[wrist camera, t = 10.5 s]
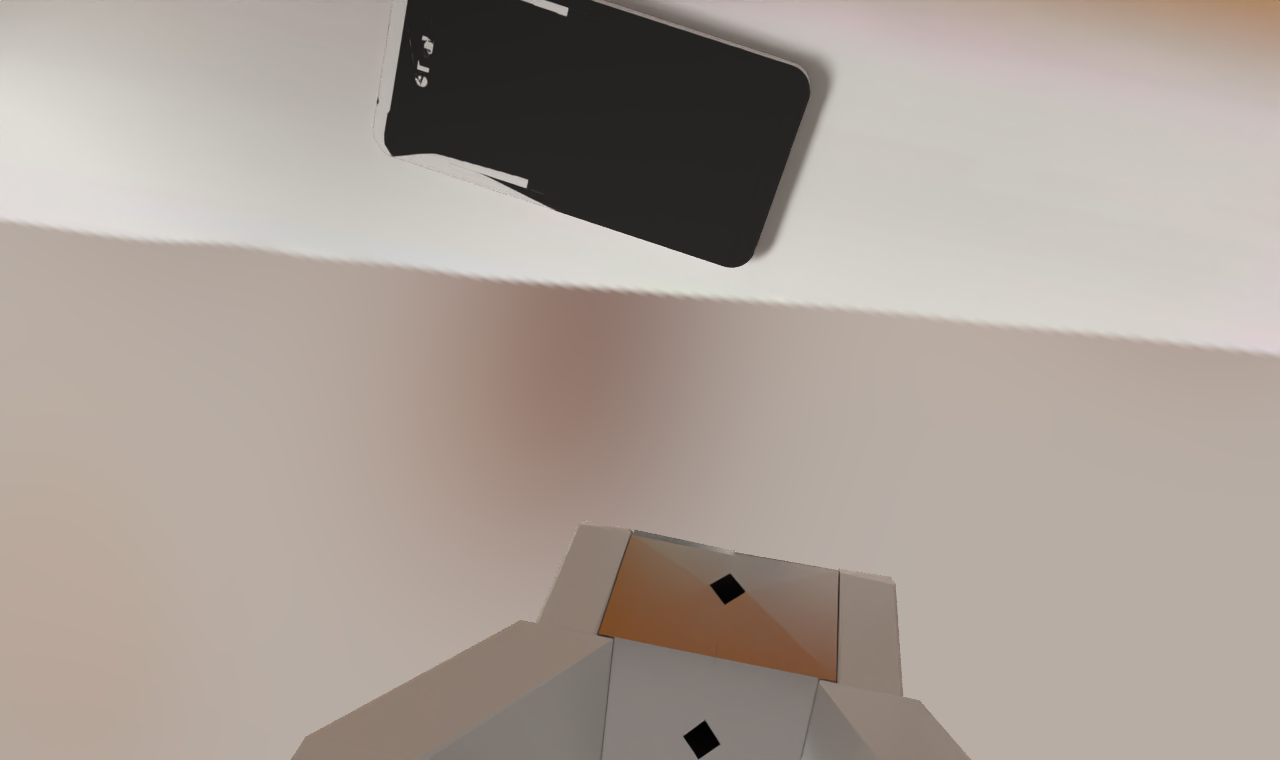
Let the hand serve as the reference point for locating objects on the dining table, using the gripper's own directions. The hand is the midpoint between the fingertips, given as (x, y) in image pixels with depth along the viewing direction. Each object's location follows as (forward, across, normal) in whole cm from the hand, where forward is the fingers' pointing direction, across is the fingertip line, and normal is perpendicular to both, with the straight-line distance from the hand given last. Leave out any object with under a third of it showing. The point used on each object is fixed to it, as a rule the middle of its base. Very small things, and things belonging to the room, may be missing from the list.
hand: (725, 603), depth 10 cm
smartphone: (+30, -8, -2) cm, 31 cm away
